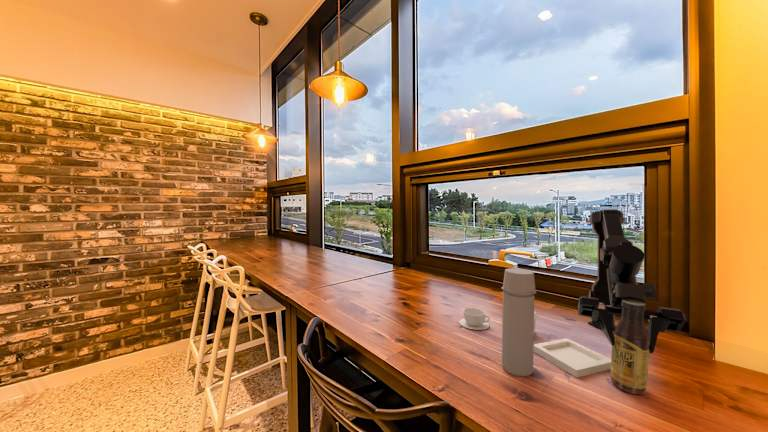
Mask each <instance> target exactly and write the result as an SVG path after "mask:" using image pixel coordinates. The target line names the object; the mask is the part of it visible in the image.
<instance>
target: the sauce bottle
mask: <svg viewBox="0 0 768 432" xmlns="http://www.w3.org/2000/svg"><path fill="white" fill-rule="evenodd" d="M621 306H622V316H621V315H620V319H619V321H618V323H617V325H616V326H617V327H616V329H615V330H613V337H614V346H613V345H611V346H612V347H611V358H610V359H611V369H610V381H611V382H612V384H613V386H615V387H616V388H618V389H620V390H621V391H623V392H625V393H629V394H631V395H643V394H644V393H646V390H647V387H648V377H649V366H650V348H649V342H650V334H649V333H648V331H647V327H646V326H645V319H644V311H647V310H646V309H647V304H646V302H645V303H643V302H641V301H637V300H632V299H622V302H621Z"/></svg>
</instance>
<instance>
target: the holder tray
mask: <svg viewBox="0 0 768 432" xmlns="http://www.w3.org/2000/svg"><path fill="white" fill-rule="evenodd" d="M533 353H535V354H537V355H539V356H540V357H542V358H543V359H545V360H547V361H548V362H550V363H552V364H554V365H555V366H556V367H559V368H560V369H562V370H563V371H565V372H567V373H568V374H570V375H571V374H572V375H571V376H573V377H574V378H576V377H577V378H580V377H579V376H581V377H585V376H589V375H593V374H598V373H602V372H605V371H608V370H609V371H610V370H611V358H609V357H607V356H604V355H602V354H601V353H598V352H597V351H594V350H592V349H590V348H588V347H586V346H583V345H582V344H581V343H578V342H575V341H574V340H571V339H569V338H567V337H565V338H561V339H555V340H550V341H544V342H539V343H535V344H534V347H533ZM584 375H585V376H584Z"/></svg>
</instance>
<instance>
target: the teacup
mask: <svg viewBox="0 0 768 432" xmlns="http://www.w3.org/2000/svg"><path fill="white" fill-rule="evenodd" d="M462 311H463V312H462V313H463V318H461V319H460V320H459V325H460V326H462V327H464V328H466V329H470V330H477V331H481V330H484V331H485V330H487V329H489V327H490V324H489V323H488V322H490V320H491V319H490V317H491V316H490V315H488V314H486V311H484V310H483V309H481V308H477V307H468V308H464V309H463V310H462ZM486 318H487V319H488V320H485V319H486Z"/></svg>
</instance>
